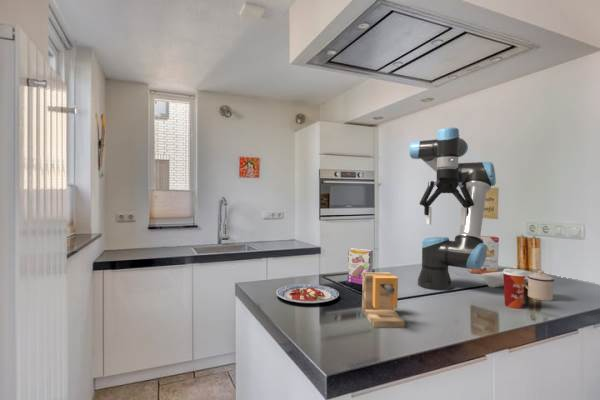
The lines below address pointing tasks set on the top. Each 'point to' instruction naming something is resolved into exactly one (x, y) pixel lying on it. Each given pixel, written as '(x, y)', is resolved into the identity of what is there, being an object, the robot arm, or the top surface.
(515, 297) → the paper cup
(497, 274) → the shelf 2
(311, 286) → the ceramic plate
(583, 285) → the top surface
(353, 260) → the candy bar box
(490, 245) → the cracker box
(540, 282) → the teacup with lid
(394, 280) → the orange u-shaped bracket
